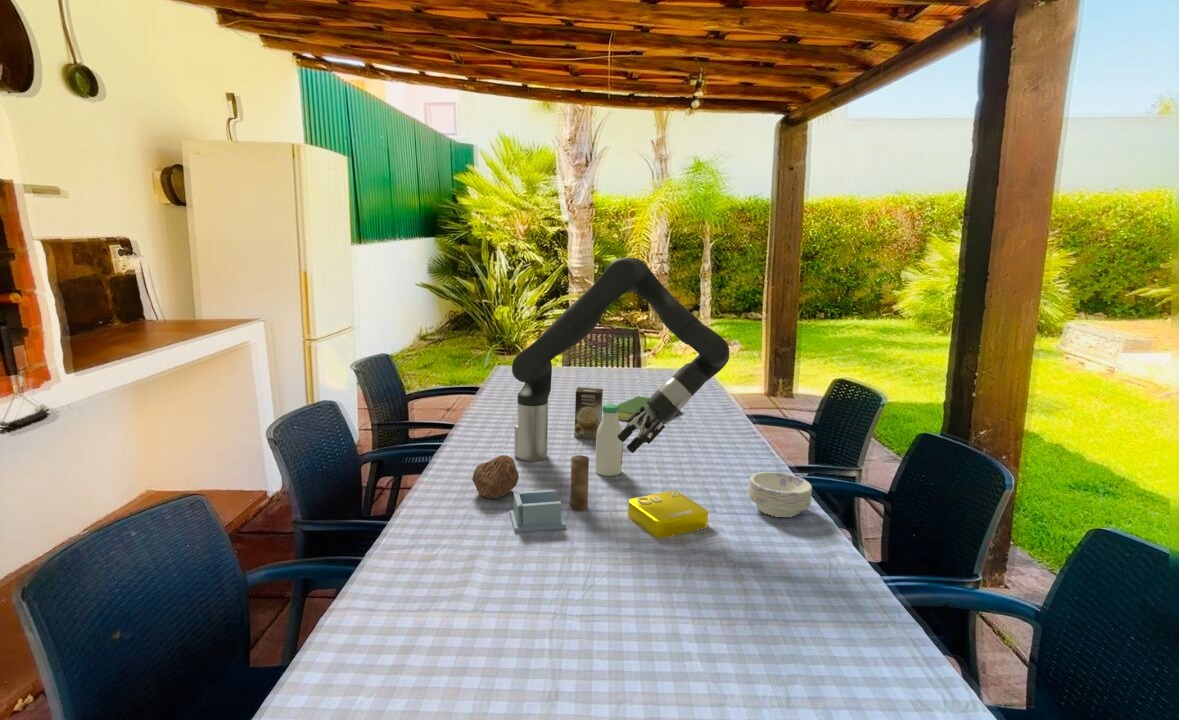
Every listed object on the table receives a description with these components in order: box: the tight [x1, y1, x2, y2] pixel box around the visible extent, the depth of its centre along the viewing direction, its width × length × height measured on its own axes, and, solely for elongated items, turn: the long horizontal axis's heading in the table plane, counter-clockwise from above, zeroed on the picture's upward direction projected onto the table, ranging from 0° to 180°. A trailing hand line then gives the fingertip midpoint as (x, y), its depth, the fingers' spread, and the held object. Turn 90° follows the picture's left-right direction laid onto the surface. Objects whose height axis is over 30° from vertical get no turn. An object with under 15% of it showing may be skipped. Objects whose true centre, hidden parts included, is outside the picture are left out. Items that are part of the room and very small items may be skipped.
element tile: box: [627, 490, 709, 539], centre depth 156 cm, size 15×15×5 cm
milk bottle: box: [595, 403, 624, 477], centre depth 185 cm, size 8×8×20 cm
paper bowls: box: [748, 471, 813, 518], centre depth 163 cm, size 15×15×8 cm
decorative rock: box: [471, 454, 520, 499], centre depth 169 cm, size 13×11×10 cm
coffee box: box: [573, 386, 604, 439], centre depth 219 cm, size 9×6×16 cm
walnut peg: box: [569, 454, 590, 512], centre depth 161 cm, size 4×4×13 cm
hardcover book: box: [617, 395, 664, 422], centre depth 248 cm, size 25×19×4 cm
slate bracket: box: [509, 489, 567, 533], centre depth 154 cm, size 12×10×6 cm
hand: (624, 444), depth 162 cm, fingers open, 8 cm apart
